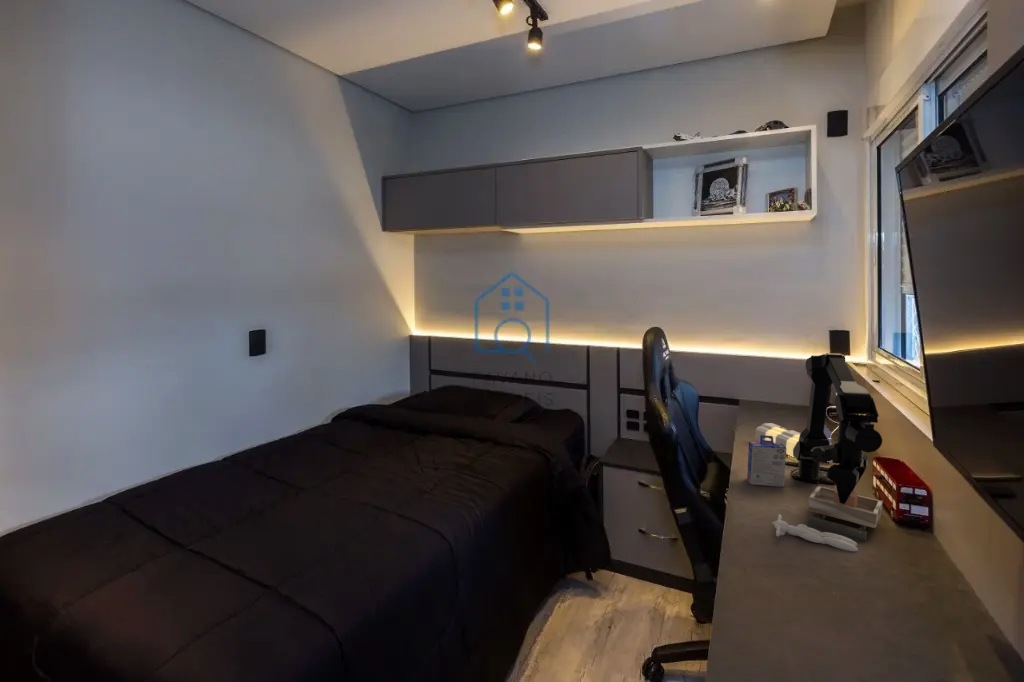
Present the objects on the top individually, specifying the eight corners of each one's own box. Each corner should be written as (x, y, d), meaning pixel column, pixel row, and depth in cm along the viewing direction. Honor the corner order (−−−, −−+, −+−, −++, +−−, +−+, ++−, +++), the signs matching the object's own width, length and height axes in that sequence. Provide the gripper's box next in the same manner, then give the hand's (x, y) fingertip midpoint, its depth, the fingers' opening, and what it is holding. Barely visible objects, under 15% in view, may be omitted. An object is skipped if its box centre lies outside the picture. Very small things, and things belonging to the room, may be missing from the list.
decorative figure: (856, 532, 127) (774, 508, 136) (861, 555, 117) (772, 527, 125) (853, 545, 128) (771, 520, 136) (857, 569, 117) (769, 540, 126)
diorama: (832, 464, 179) (836, 426, 178) (808, 467, 177) (811, 429, 175) (776, 442, 203) (779, 409, 202) (754, 444, 200) (756, 410, 199)
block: (836, 503, 140) (838, 486, 139) (856, 508, 137) (858, 491, 136) (832, 508, 136) (834, 491, 136) (853, 513, 133) (854, 496, 133)
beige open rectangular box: (817, 503, 146) (818, 485, 145) (880, 519, 136) (882, 500, 135) (807, 515, 138) (809, 497, 137) (874, 534, 128) (876, 514, 128)
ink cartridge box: (779, 480, 163) (782, 435, 162) (785, 487, 158) (788, 440, 156) (745, 478, 165) (748, 433, 164) (749, 484, 160) (752, 438, 158)
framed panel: (832, 493, 154) (832, 486, 154) (881, 505, 146) (882, 498, 146) (808, 525, 134) (809, 518, 133) (865, 541, 126) (865, 533, 126)
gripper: (823, 426, 147) (818, 479, 148) (806, 441, 133) (801, 500, 135) (871, 434, 139) (865, 490, 141) (858, 451, 125) (852, 513, 127)
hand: (845, 498), depth 136 cm, fingers open, 8 cm apart
